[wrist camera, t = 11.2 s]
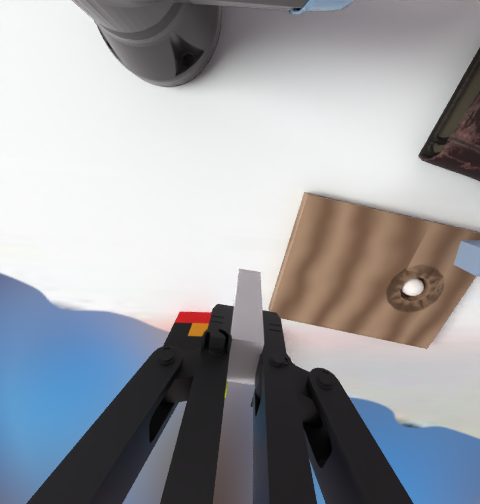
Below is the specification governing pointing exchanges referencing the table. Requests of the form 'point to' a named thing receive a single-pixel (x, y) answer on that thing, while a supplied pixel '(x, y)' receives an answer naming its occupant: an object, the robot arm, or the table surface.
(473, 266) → the blue block
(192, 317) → the puzzle toy
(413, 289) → the ball
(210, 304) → the table surface
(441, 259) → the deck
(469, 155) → the diary
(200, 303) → the table surface
